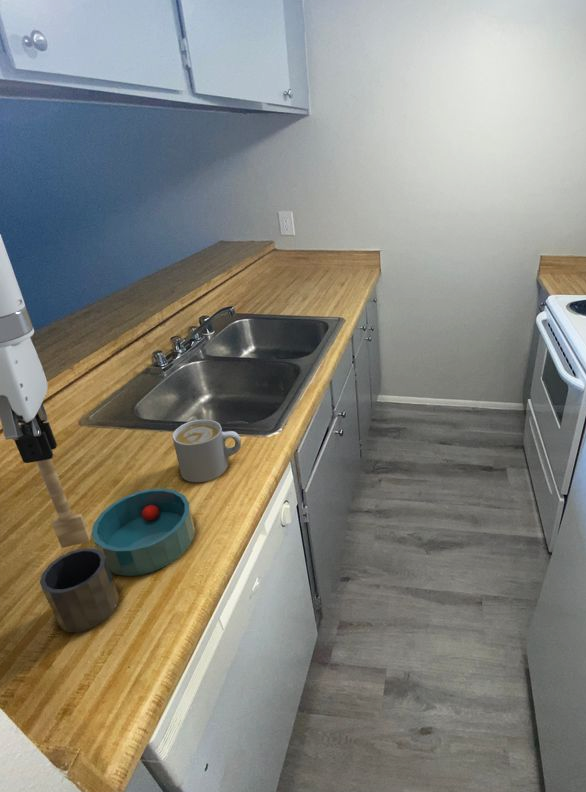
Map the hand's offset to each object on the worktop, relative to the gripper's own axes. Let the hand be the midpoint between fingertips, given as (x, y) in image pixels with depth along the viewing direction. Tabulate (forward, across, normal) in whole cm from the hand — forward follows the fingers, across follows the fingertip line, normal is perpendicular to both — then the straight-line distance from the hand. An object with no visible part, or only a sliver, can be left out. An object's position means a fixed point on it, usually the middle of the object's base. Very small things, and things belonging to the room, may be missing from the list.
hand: (41, 454), depth 63 cm
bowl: (+29, -11, +7) cm, 32 cm away
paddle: (+17, 0, 0) cm, 17 cm away
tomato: (+27, -16, +7) cm, 33 cm away
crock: (+29, +1, -1) cm, 29 cm away
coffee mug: (+30, -30, +19) cm, 46 cm away
